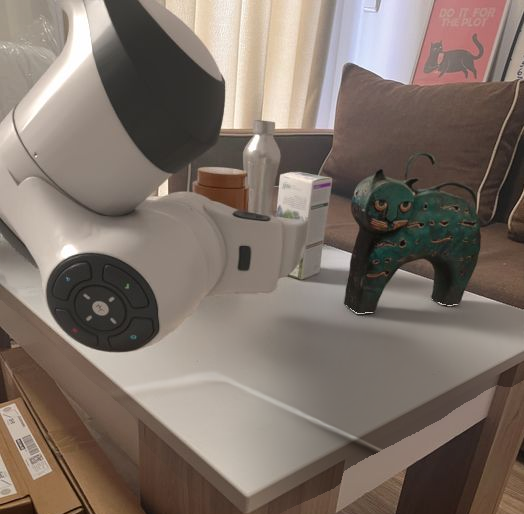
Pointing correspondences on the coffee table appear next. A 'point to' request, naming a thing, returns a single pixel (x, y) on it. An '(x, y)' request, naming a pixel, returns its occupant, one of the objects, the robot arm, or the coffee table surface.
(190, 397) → the coffee table surface
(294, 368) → the coffee table surface
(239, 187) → the jar
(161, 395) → the coffee table surface
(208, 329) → the coffee table surface
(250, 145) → the metal water bottle
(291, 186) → the syrup box
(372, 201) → the ceramic cat
